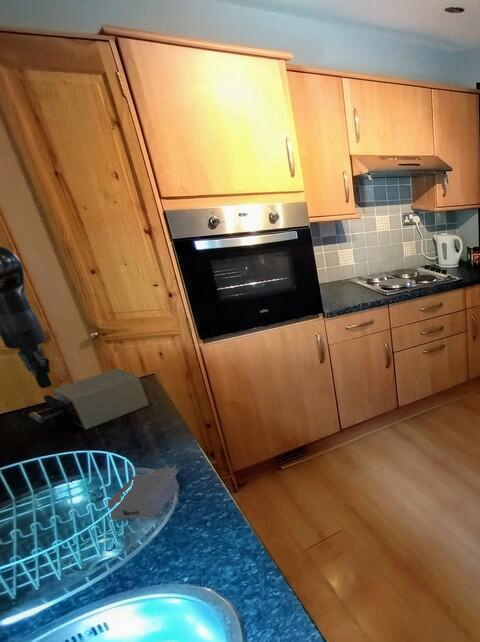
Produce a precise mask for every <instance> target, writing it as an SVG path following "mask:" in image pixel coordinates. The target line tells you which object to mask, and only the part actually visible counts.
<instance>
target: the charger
mask: <svg viewBox="0 0 480 642" xmlns="http://www.w3.org/2000/svg"><path fill="white" fill-rule="evenodd" d="M176 467H177V465H176V464H174V465H173V466H172V467H170V466H169V465H165V467H159V468H157V469H156V470H155V469H154V471H152V473H147V474H145V473H144V474H139V475H135V476H132V477H131V478H130V479H129V480H128V481H127V483H125V484H124V485H123V487H121V488H120V489H119V491H117V492H116V493H115V494H114V495H113V496H112V497H111V498H110V499H109V500H108V501H107V502H108V508H111V507H112V506H113V505H115V504H116V503H118V502H120V501H121V495H122V493H123V492H125V491H126V490H127V489H128V488H129V486H130V484H131V482H132V480H134V481H133V485H132V488H131V490H129V491H128V493H127V494H126V495H125V496H124V498H123V500H122V501H121V503H120V504H119V505H118V506H117V507H116V508H115V509H114V510H113V511H112V512H111V518H112V519H111V518H110V519H111V520H113V521H114V520H130V519H143V518H155V517H156V516H157V515H158V514H159V513H160V512H161V510H162V509H163V508H164V507H165V506H166V505H167V503H168V502H169V501H170V500H171V498H172V497H173V496H174V495H175V494H176V493H177V491H178V490H179V489H180V485H179V482H178V480H177V479H178V478H177V477H176V476H177V475H178V473H179V472H180V470H178V469H177V468H176ZM104 508H105V504H104Z"/></svg>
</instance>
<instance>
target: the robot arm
mask: <svg viewBox="0 0 480 642" xmlns="http://www.w3.org/2000/svg"><path fill="white" fill-rule="evenodd" d="M24 275H25V274H24V268H23V263H22V261H21V259H20V258H19V257H18V255H17V254H16V253H15V252H13V251H12V250H11V249H9V248H7V247H5V246H0V337H1V340H2V342H3V344H4V346H5V347H6V348H7V349H11V350H15V349H16V350H17V349H18V350H19V351H17V356H18V357H19V358H20V360H21V361H22V363H23V364H24V366H25V367H26V369H27V371H29V372H30V373H31V375H32V376H34V379H35V380H36V383H37V386H38V387H39V388H42V389H46V388H50V387H51V386H52V385H53V384H52V381H51V379H50V377H49V374H50V373H51V369H50V359H49V358H47V357H46V356H45V355H46V354H45V351H44V350H43V348H40V347H39V345H40V344H44V342H46V340H47V337H46V335H45V331H44V329H43V327H42V326H41V323H40V321H39V318H38V316H37V314H36V313H35V311H34V309H33V307H32V305H31V302H30V301H29V298H28V296H27V294H26V292H25V276H24Z"/></svg>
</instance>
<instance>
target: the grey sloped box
mask: <svg viewBox="0 0 480 642" xmlns="http://www.w3.org/2000/svg"><path fill="white" fill-rule="evenodd" d="M52 390H53V391H52V392H53V393H54V396H56V395H57V394H59V395H61V396H63V397H64V398H66V399H68V400H70V401H71V402H72V403H73V405H74V407H75V409H76V411H77V414H78V416H79V418H80V420H81V423H82V425H81V424H80V423H78V422H76V421H75V420H73V421H74V423H75V425H77V426H78V427H80V428H82V429H83V430H88V429H91V428H94V427H96V426H99V425H101V424H104V423H106V422H109V421H111V420H114V419H117V418H119V417H122V416H124V415H127V414H129V413H131V412H134V411H137V410H139V409H142V408H145V407H148V406H149V405H150V403H149V401H148V398H147V395H146V393H145V390H144V387H143V385H142V382H141V380H140V377H139V376H137V375H134V374H132V373H130V372H128V371H125V370H123V369H122V368H115V369H112V370H108V371H105V372H101V373H98V374H96V375H93V376H90V377H87V378H83V379H81V380H78V381H74V382H71V383H68V384H64V385H61V386H59V387H55V388H53V389H52Z"/></svg>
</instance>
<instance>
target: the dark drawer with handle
mask: <svg viewBox="0 0 480 642" xmlns="http://www.w3.org/2000/svg"><path fill="white" fill-rule="evenodd" d="M58 395H59V394H58ZM60 396H61V395H60ZM62 397H63V396H62ZM43 400H44V401H45V403H46V405H47V408H46V409H42V410H40V411H36V412H35V411H32V412H29V414H28V416H29V418H31V419H33V420H34V421H35V422H37V423H39V424H43V423H44V422H45V421H46V420H48V419H53V421H55V422H57V423H58V424H59V425H61V426H63V427H64V428H66V429H67V430H69V431H71V432H74V431H76V430H78V428H77V426H76V425H77V424H75V423H74V421H73V420H75V421H76V422H78V423H80V424H81V425H82V423H81V420H80V418H79V416H78V414H77V411H76V409H75V407H74V405H73V403H72V402H71V404H72V406H73V408H74V410H75V413H76V415H77V416H76V415H74V414H72V413H70V412H69V410H68V407H69V406H68V405H67V404H65V403H63V402H61V401H59V400H57V399H55V398H54V396H52V395H50V394H46V395H43ZM46 412H47V413H48V412H50V414H49V415H46V416H44V417H43V416H42V415H41V414H45V413H46Z"/></svg>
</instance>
